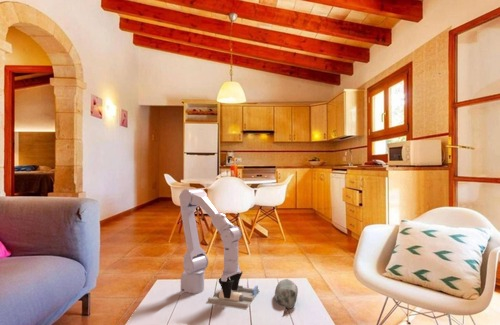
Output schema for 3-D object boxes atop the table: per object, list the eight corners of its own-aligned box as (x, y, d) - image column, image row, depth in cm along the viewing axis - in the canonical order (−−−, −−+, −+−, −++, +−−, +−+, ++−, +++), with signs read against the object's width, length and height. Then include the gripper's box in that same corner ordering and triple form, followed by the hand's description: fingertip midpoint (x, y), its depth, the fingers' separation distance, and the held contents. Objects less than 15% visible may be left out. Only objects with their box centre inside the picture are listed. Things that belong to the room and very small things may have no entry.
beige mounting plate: (206, 307, 114) (206, 295, 114) (224, 289, 131) (224, 279, 131) (245, 313, 109) (246, 301, 109) (259, 294, 126) (260, 283, 126)
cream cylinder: (216, 301, 116) (216, 293, 115) (220, 296, 119) (219, 287, 118) (241, 305, 113) (240, 296, 112) (244, 299, 116) (243, 291, 115)
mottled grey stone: (302, 304, 110) (290, 277, 113) (278, 314, 110) (267, 287, 114) (304, 298, 122) (293, 274, 126) (283, 307, 123) (273, 283, 127)
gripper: (233, 265, 108) (233, 303, 108) (246, 254, 122) (246, 288, 122) (216, 263, 110) (215, 300, 110) (230, 253, 124) (230, 286, 124)
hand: (230, 294), depth 116 cm, fingers open, 7 cm apart
